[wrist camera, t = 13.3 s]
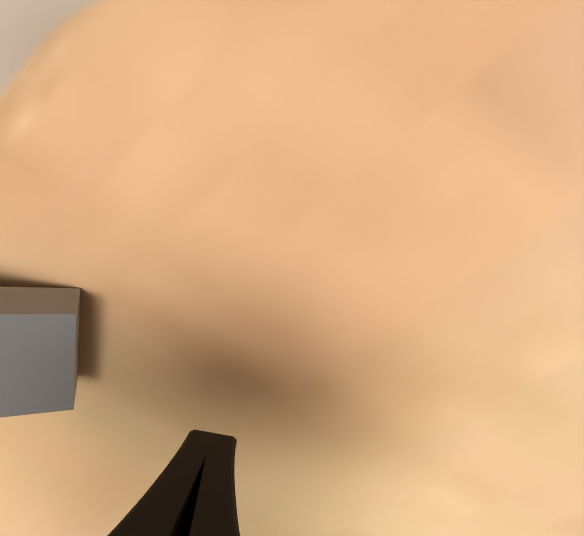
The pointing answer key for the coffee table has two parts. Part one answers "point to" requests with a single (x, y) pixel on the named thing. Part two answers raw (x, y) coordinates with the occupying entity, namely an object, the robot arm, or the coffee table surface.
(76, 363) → the tile
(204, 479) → the robot arm
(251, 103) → the coffee table surface
